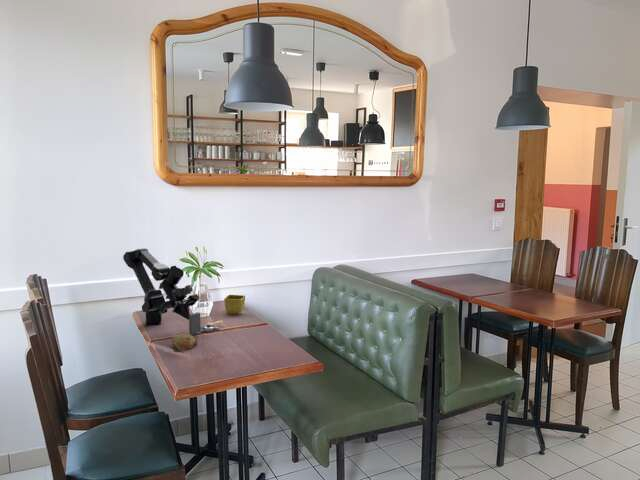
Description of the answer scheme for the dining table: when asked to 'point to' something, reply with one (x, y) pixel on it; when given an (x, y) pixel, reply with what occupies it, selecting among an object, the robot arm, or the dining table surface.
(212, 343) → the dining table surface
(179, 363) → the dining table surface
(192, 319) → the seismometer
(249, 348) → the dining table surface
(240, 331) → the dining table surface
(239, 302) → the flower pot
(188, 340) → the mottled green brown ball
